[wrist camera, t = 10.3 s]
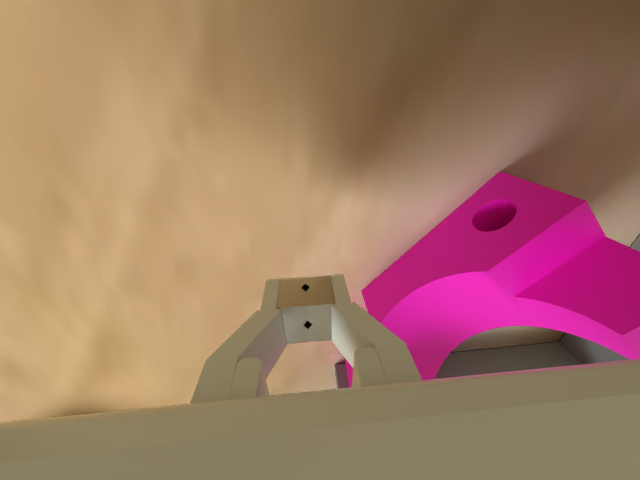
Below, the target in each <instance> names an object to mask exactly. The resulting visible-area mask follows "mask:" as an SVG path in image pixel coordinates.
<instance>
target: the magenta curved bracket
mask: <svg viewBox="0 0 640 480" xmlns="http://www.w3.org/2000/svg"><path fill="white" fill-rule="evenodd" d="M361 292H362V295H363V298H364V301H365V304H366V307H367V310H368V313H369V314H370V315H371V316H372V317H374V318H375V319H376V320H377V321H379V322H380V323H381V324H382V325H384V326H385V327H386V328H387V329H389V330H390V331H391V332H393V333H394V334H395V335H396V336H398V337H399V338H400V339H401V340H403V341H404V342H405V343H406V345H407V347H408V349H409V352H410V354H411V356H412V358H413V361H414V363H415V365H416V367H417V369H418V372H419V374H420V376H421V378H422V380H430V379H435V377H436V374H437V372H438V370H439V368H440V366H441V365H442V363H443V361H444V360H445V359H446V357H447V356H448V355H449V353H450V352H451V351H452V350H453V349H454V348H455V347H457V346H458V345H459V344H460V343H462V342H463V341H465V340H466V339H468V338H469V337H471V336H473V335H476V334H478V333H480V332H483V331H486V330H490V329H494V328H498V327H506V326H535V327H543V328H549V329H554V330H559V331H563V332H566V333H570V334H573V335H576V336H579V337H582V338H585V339H588V340H590V341H593V342H595V343H597V344H600V345H602V346H604V347H606V348H609V349H611V350H613V351H615V352H616V353H618V354H620V355H622V356H624V357H626V358H628V359H640V252H639V251H637V250H635V249H632V248H630V247H628V246H625V245H623V244H621V243H619V242H616V241H614V240H612V239H610V238H607V237H606V236H605V234H604V232H603V230H602V229H601V227H600V225H599V223H598V221H597V220H596V218H595V216H594V214H593V212H592V211H591V209H590V207H589V205H588V204H587V202H586V201H585V200H582V199H579V198H576V197H573V196H570V195H567V194H565V193H562V192H559V191H556V190H553V189H550V188H547V187H544V186H541V185H538V184H536V183H533V182H530V181H527V180H524V179H521V178H518V177H515V176H512V175H509V174H506V173H504V172H501V171H500V172H499V173H497V174H496V175H495V176H494V177H493V178H492V179H491V180H489V181H488V182H487V183H486V184H485V185H484V186H482V187H481V188H480V189H479V190H478V191H477V192H475V193H474V194H473V195H472V196H471V197H470V198H469V199H467V200H466V201H465V202H464V203H463V204H462V205H460V206H459V207H458V208H457V209H456V210H455V211H453V212H452V213H451V214H450V215H449V216H448V217H447V218H445V219H444V220H443V221H442V222H441V223H440V224H438V225H437V226H436V227H435V228H434V229H433V230H431V231H430V232H429V233H428V234H427V235H426V236H425V237H423V238H422V239H421V240H420V241H419V242H418V243H416V244H415V245H414V246H413V247H412V248H411V249H409V250H408V251H407V252H406V253H405V254H404V255H403V256H401V257H400V258H399V259H398V260H397V261H396V262H394V263H393V264H392V265H391V266H390V267H389V268H388V269H386V270H385V271H384V272H383V273H382V274H381V275H379V276H378V277H377V278H376V279H375V280H374V281H372V282H371V283H370V284H369V285H368V286H367V287H366V288H364V289H363V290H362V291H361ZM344 359H345V357H344ZM345 364H346V370H347V376H348V381H349V387H350V388H351V387H352V378H353V367H352V366H351V365H350V364H349V362H348V361H347V360H346V359H345Z"/></svg>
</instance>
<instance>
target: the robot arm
mask: <svg viewBox="0 0 640 480" xmlns="http://www.w3.org/2000/svg"><path fill="white" fill-rule="evenodd" d="M327 340H332V342H333V343H334V345H335V346H336V347H337V348H338V350H339V351H340V352H341V354H342V355H343V356H344V357H345V359H346V360H347V361H348V362H349V364H350V365H351V366H352V367H353V378H352V387H351V388H341V389H332V390H322V391H312V392H302V393H291V394H281V395H271V396H270V395H269V391H268V387H267V383H266V378H267V376H268V375H269V373H270V372H271V370H272V368H273V367H274V365H275V364H276V362H277V360H278V359H279V357H280V355H281V354H282V352H283V351H284V349H285V347H286V346H287V345H286V344H293V343H301V342H311V341H327ZM0 480H640V359H630V360H620V361H610V362H600V363H590V364H580V365H570V366H560V367H550V368H540V369H530V370H520V371H510V372H500V373H490V374H480V375H470V376H460V377H450V378H440V379H430V380H422V378H421V376H420V374H419V372H418V369H417V367H416V365H415V363H414V361H413V358H412V356H411V354H410V352H409V349H408V347H407V345H406V343H405V342H404V341H403V340H401V339H400V338H399V337H398V336H396V335H395V334H394V333H393V332H391V331H390V330H389V329H387V328H386V327H385V326H384V325H382V324H381V323H380V322H379V321H377V320H376V319H375V318H374V317H372V316H371V315H370V314H369V313H367V312H366V311H365V310H364V309H362V308H361V307H360V306H358V305H357V304H356V303H351V301H350V297H349V293H348V290H347V286H346V282H345V279H344V275H343V274H335V275H328V276H316V277H300V278H281V279H267V281H266V284H265V289H264V295H263V300H262V305H261V310H258V311H256V312H255V313H254V314H253V315H252V316H251V317H250V318H249V319H248V320H247V321H246V322H245V323H244V324H242V325H241V326H240V327H239V328H238V329H237V330H236V331H235V332H234V333H233V334H232V335H231V336H230V337H229V338H228V339H227V340H226V341H225V342H224V343H223V344H222V345H221V346H220V347H219V348H218V349H217V350H216V351H215V352H214V353H213V354H212V355H211V356H210V357H209V358H208V359H207V360H206V362H205V364H204V367H203V370H202V373H201V375H200V378H199V381H198V383H197V386H196V389H195V392H194V394H193V397H192V400H191V402H190V404H181V405H171V406H161V407H151V408H141V409H131V410H121V411H111V412H101V413H91V414H81V415H71V416H61V417H51V418H41V419H31V420H21V421H11V422H1V423H0Z"/></svg>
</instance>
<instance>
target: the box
mask: <svg viewBox="0 0 640 480" xmlns="http://www.w3.org/2000/svg"><path fill="white" fill-rule="evenodd" d="M630 248H632V249H635V250H637V251H639V252H640V235H639V236H638V238H637V239H636V240H635V241H634V243H633V244H632V245H631V247H630ZM620 360H630V359H628V358H626V357H624V356H622V355H620V354H618V353H616V352H615V351H613V350H611V349H609V348H606V347H604V346H602V345H600V344H597V343H595V342H593V341H590V340H588V339H585V338H582V337H579V336H576V335H573V334H570V333H565V334H564V336H563V337H562V338H561V340H560V341H559V342H553V343H543V344H533V345H523V346H513V347H503V348H494V349H484V350H474V351H464V352H454V353H449V355H448V356H447V357H446V359H445V360H444V361H443V363H442V365H441V366H440V368H439V370H438V372H437V374H436V377H435V379H440V378H450V377H460V376H470V375H480V374H490V373H500V372H510V371H520V370H530V369H540V368H550V367H560V366H570V365H580V364H590V363H600V362H610V361H620ZM335 376H336V383H337V389H341V388H350V387H349V381H348V376H347V370H346V364H335Z"/></svg>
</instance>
